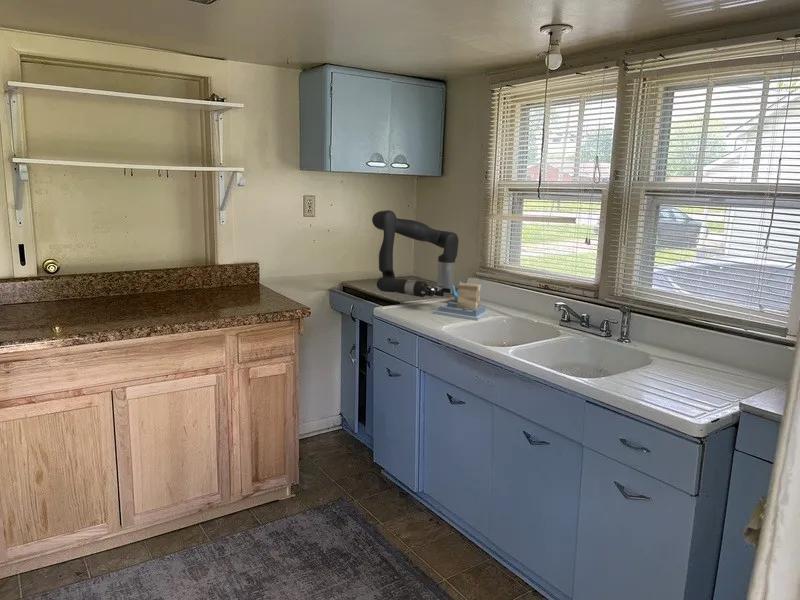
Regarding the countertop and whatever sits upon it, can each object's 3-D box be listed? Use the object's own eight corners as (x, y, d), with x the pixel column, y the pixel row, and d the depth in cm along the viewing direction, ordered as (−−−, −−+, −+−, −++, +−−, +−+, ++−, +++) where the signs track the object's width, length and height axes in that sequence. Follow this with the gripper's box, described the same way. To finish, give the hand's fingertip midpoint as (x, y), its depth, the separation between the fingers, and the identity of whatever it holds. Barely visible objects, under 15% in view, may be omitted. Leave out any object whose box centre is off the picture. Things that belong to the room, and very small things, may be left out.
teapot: (458, 299, 306) (459, 280, 304) (482, 303, 300) (484, 283, 298) (448, 304, 295) (449, 284, 293) (473, 307, 289) (474, 287, 287)
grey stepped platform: (446, 307, 288) (446, 298, 287) (489, 313, 278) (489, 305, 277) (432, 313, 274) (433, 304, 273) (477, 320, 264) (478, 311, 264)
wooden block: (460, 309, 279) (462, 282, 276) (478, 312, 275) (480, 285, 272) (456, 311, 275) (458, 284, 272) (475, 314, 271) (477, 286, 268)
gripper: (409, 282, 278) (441, 287, 271) (422, 278, 290) (453, 282, 283) (409, 298, 279) (440, 303, 272) (421, 293, 292) (452, 297, 285)
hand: (447, 292), depth 278 cm, fingers open, 8 cm apart
